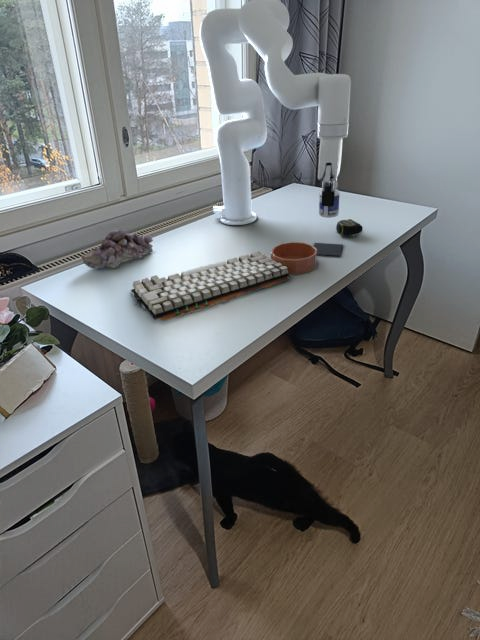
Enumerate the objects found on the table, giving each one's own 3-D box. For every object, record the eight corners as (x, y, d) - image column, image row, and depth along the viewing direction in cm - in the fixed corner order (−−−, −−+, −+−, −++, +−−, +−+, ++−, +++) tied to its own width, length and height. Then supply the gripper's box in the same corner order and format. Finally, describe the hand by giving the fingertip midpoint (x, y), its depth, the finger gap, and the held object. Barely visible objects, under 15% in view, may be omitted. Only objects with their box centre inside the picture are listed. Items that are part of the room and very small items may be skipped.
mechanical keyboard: (254, 255, 128) (254, 244, 126) (294, 279, 114) (294, 267, 112) (128, 293, 113) (125, 281, 111) (155, 327, 99) (152, 314, 97)
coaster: (310, 254, 127) (310, 253, 126) (314, 244, 133) (314, 242, 133) (339, 256, 125) (339, 255, 124) (342, 245, 131) (342, 244, 131)
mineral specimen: (131, 228, 137) (138, 210, 129) (153, 253, 138) (162, 237, 129) (77, 262, 126) (81, 245, 118) (101, 289, 127) (107, 273, 118)
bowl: (267, 272, 119) (266, 258, 117) (276, 254, 128) (276, 241, 126) (312, 275, 116) (313, 261, 113) (319, 256, 125) (319, 243, 123)
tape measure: (363, 236, 136) (364, 224, 134) (342, 239, 135) (343, 227, 133) (351, 228, 142) (352, 217, 140) (332, 232, 140) (332, 220, 138)
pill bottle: (340, 212, 124) (342, 180, 120) (335, 218, 120) (337, 185, 116) (321, 211, 126) (323, 179, 122) (316, 217, 122) (317, 184, 118)
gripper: (321, 125, 120) (319, 193, 129) (312, 137, 106) (310, 212, 116) (350, 124, 118) (346, 193, 127) (344, 137, 104) (339, 213, 114)
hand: (329, 201), depth 121 cm, fingers closed on pill bottle, 5 cm apart
